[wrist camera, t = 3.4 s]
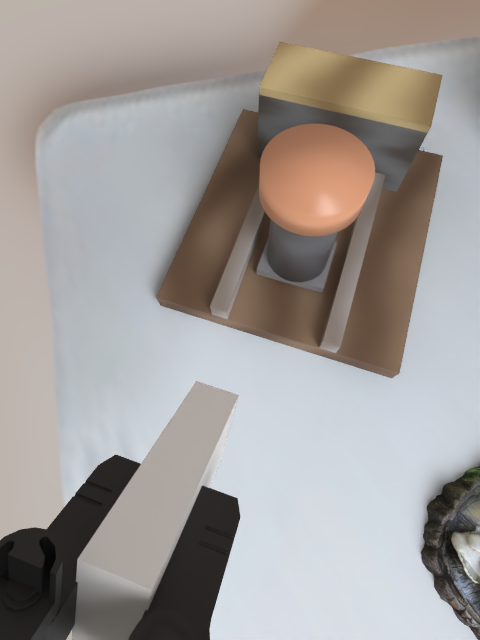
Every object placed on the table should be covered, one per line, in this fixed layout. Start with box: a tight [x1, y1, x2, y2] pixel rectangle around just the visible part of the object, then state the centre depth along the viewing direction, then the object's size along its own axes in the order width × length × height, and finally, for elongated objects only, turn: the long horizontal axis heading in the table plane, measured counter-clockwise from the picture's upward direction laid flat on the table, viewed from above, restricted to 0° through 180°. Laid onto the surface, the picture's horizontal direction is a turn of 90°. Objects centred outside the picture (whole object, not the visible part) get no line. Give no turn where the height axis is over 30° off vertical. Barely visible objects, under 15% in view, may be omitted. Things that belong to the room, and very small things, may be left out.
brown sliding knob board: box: [157, 42, 443, 378], centre depth 29 cm, size 18×20×8 cm
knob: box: [257, 124, 375, 293], centre depth 25 cm, size 6×6×10 cm
